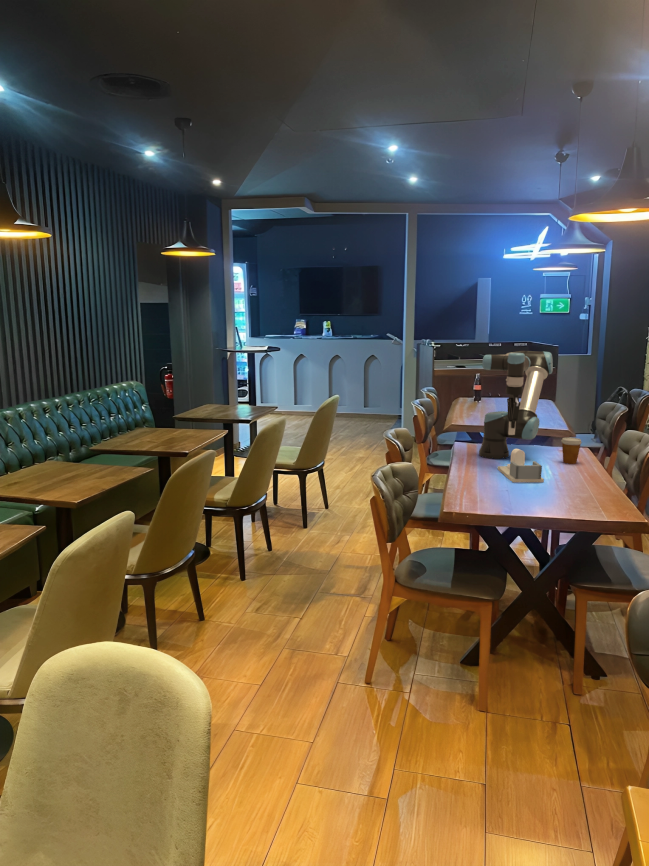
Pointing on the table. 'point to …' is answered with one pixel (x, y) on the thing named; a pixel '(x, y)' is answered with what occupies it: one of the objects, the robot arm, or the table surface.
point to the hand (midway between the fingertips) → (511, 434)
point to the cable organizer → (517, 457)
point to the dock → (522, 472)
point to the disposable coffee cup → (570, 449)
